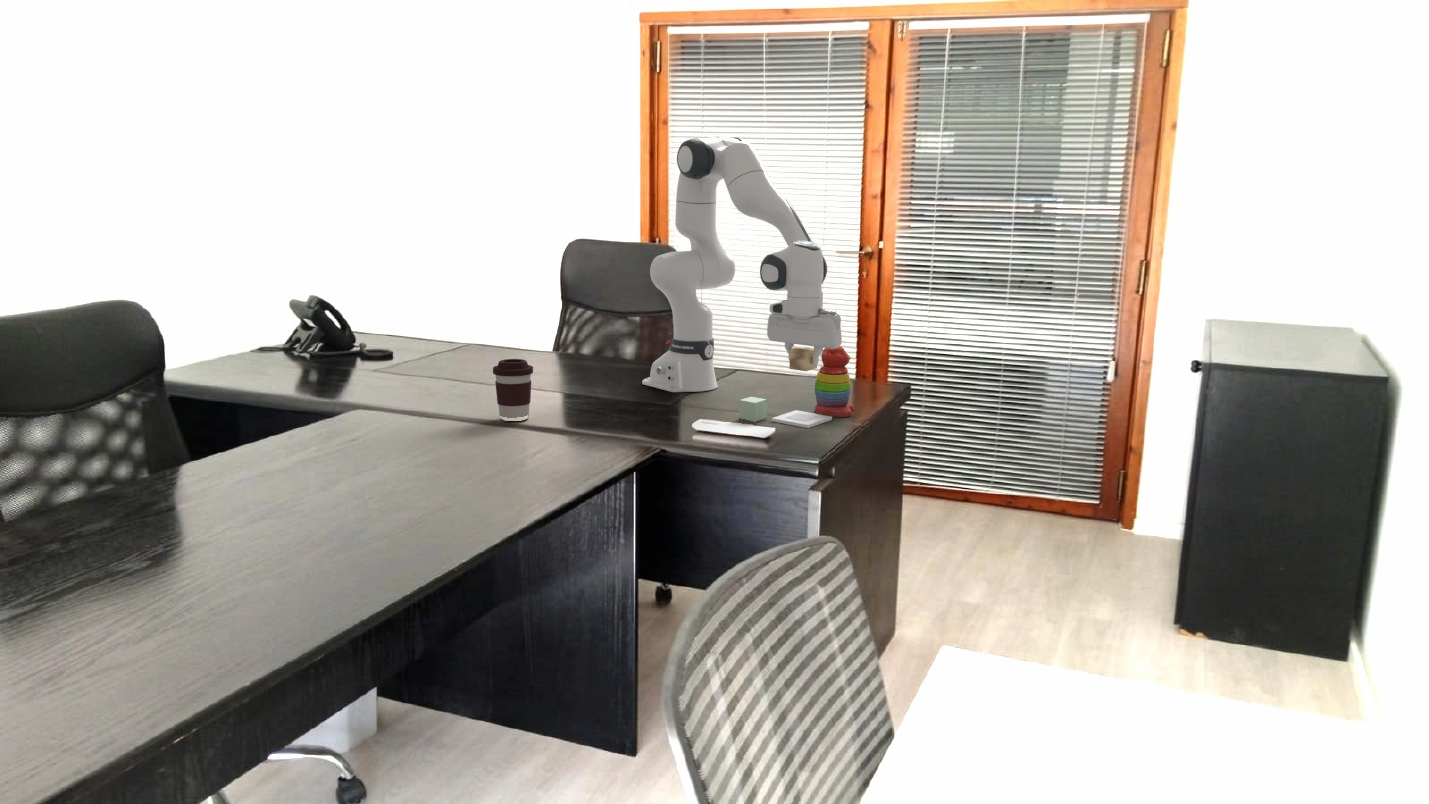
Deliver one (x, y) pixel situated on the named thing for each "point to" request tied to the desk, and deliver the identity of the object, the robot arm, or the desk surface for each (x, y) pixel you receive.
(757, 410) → the sage block
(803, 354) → the oak block
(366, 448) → the desk surface
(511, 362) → the coffee cup
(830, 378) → the stacking bear
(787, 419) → the plate
